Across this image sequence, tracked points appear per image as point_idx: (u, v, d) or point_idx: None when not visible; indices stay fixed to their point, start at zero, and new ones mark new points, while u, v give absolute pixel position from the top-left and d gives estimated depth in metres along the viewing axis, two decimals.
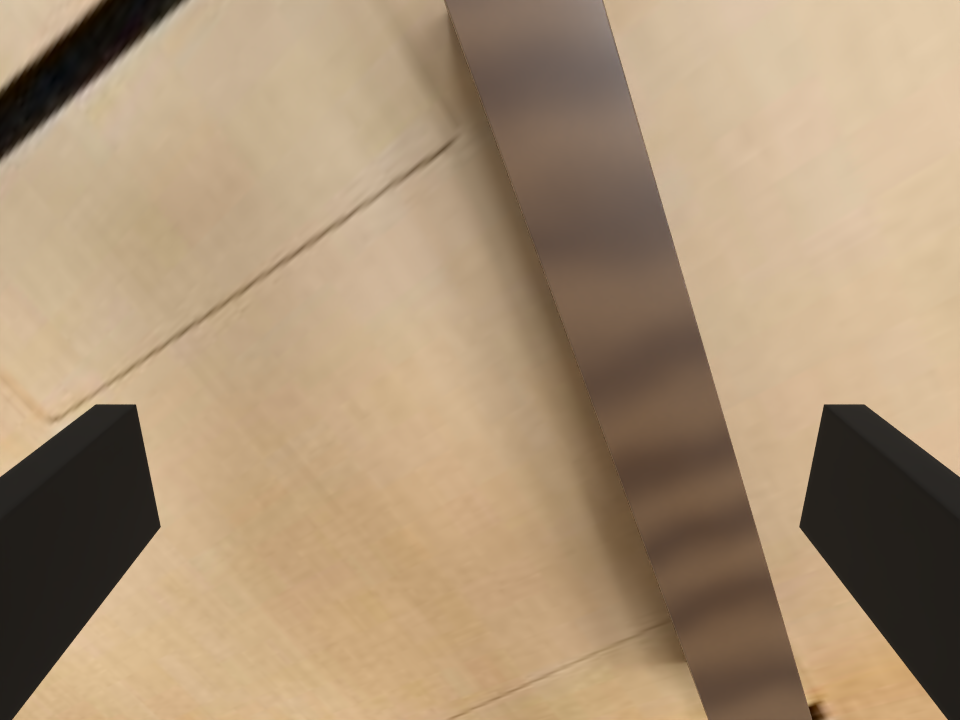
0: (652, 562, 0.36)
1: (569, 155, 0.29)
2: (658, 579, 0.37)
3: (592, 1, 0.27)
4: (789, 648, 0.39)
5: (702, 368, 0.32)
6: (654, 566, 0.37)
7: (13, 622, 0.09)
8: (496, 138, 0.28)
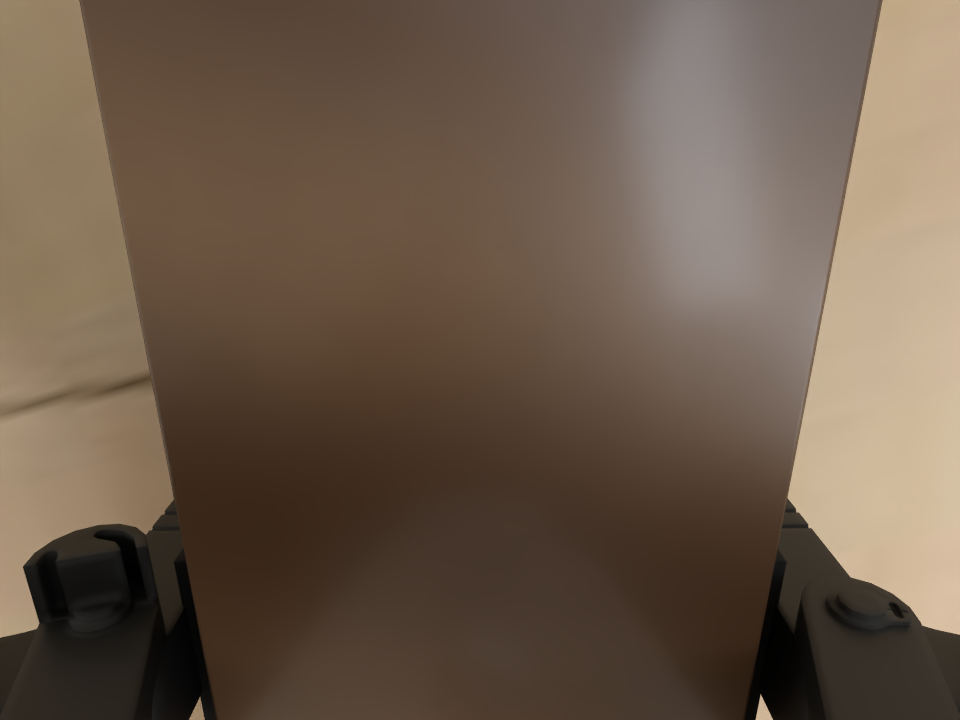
0: None
1: None
2: None
3: (770, 350, 0.06)
4: None
5: None
6: None
7: None
8: (208, 654, 0.07)
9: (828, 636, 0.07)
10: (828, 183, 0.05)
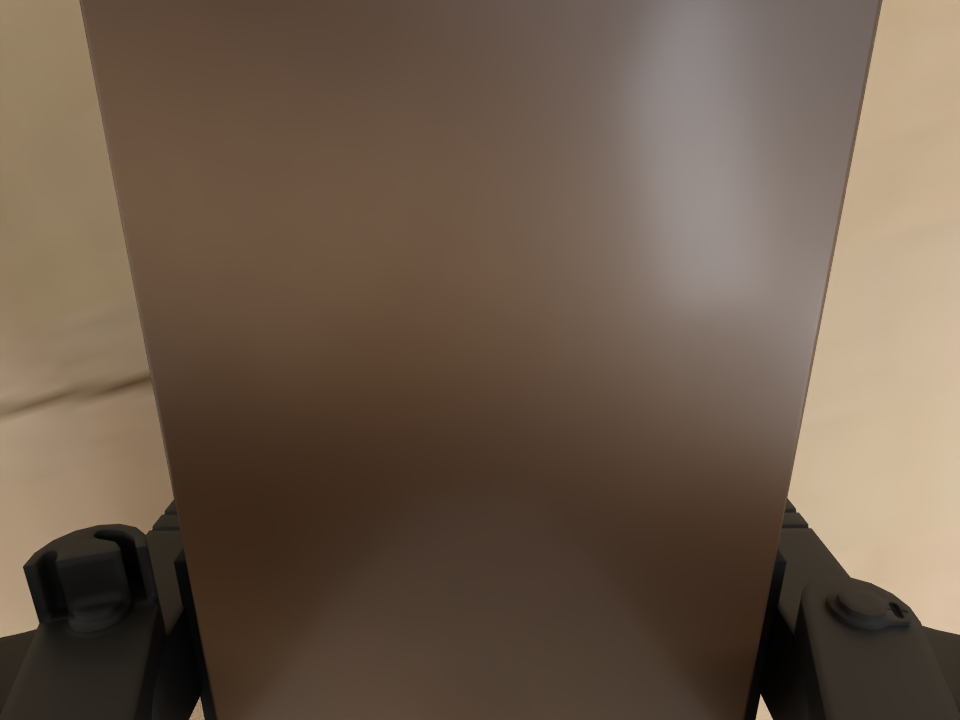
0: None
1: None
2: None
3: (770, 350, 0.06)
4: None
5: None
6: None
7: None
8: (208, 654, 0.07)
9: (828, 636, 0.07)
10: (828, 182, 0.05)
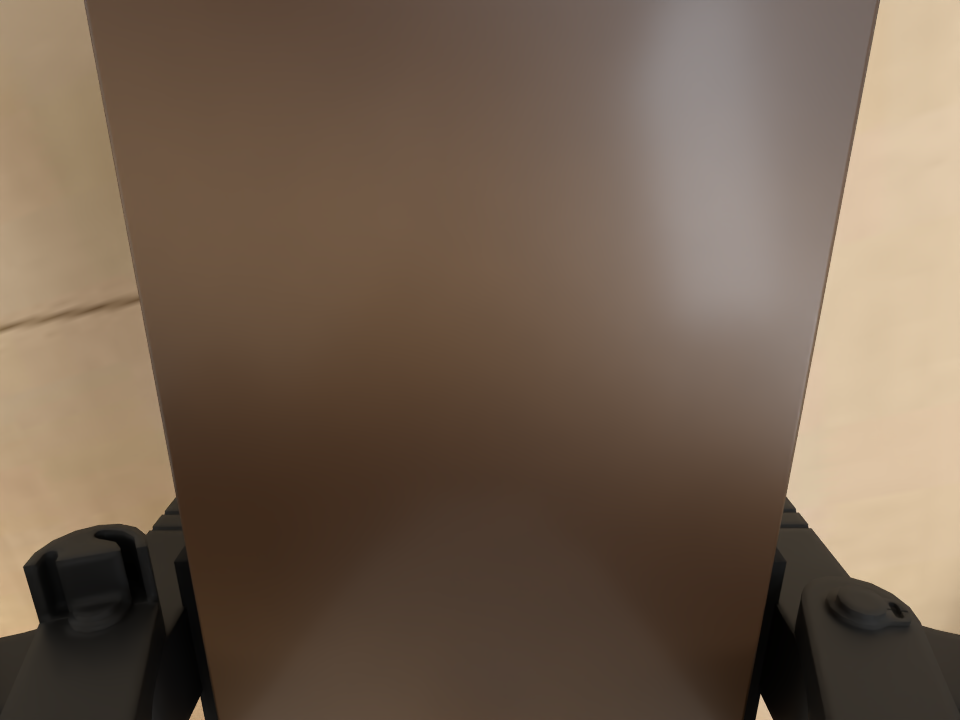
0: None
1: None
2: None
3: (768, 352, 0.06)
4: None
5: None
6: None
7: None
8: (210, 654, 0.07)
9: (828, 636, 0.07)
10: (826, 188, 0.05)
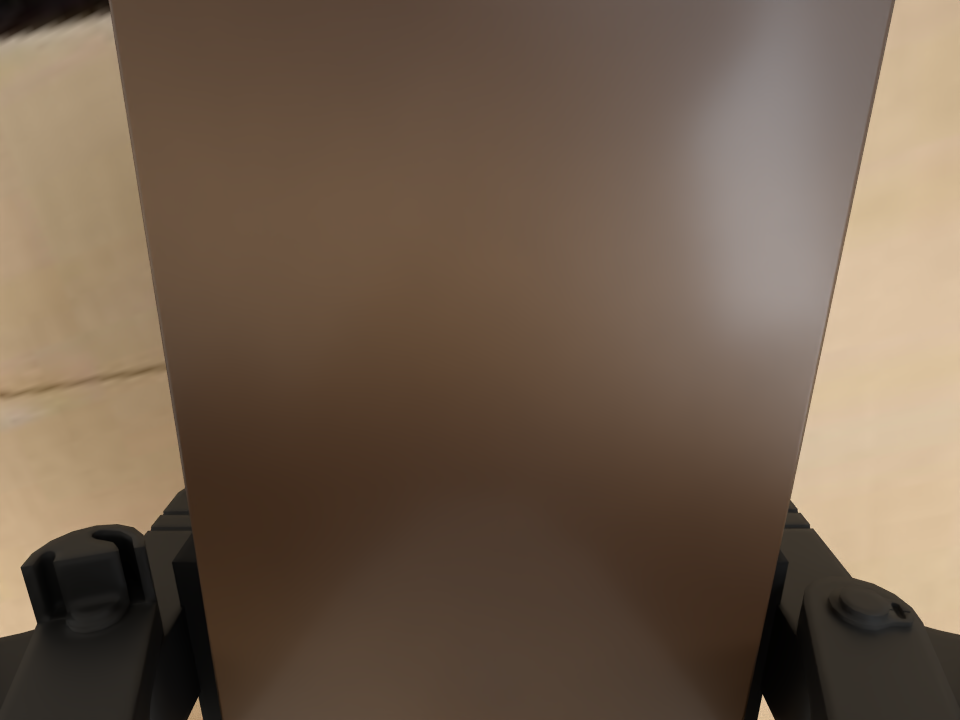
0: None
1: None
2: None
3: (776, 353, 0.06)
4: None
5: None
6: None
7: None
8: (214, 646, 0.07)
9: (830, 636, 0.07)
10: (837, 191, 0.05)
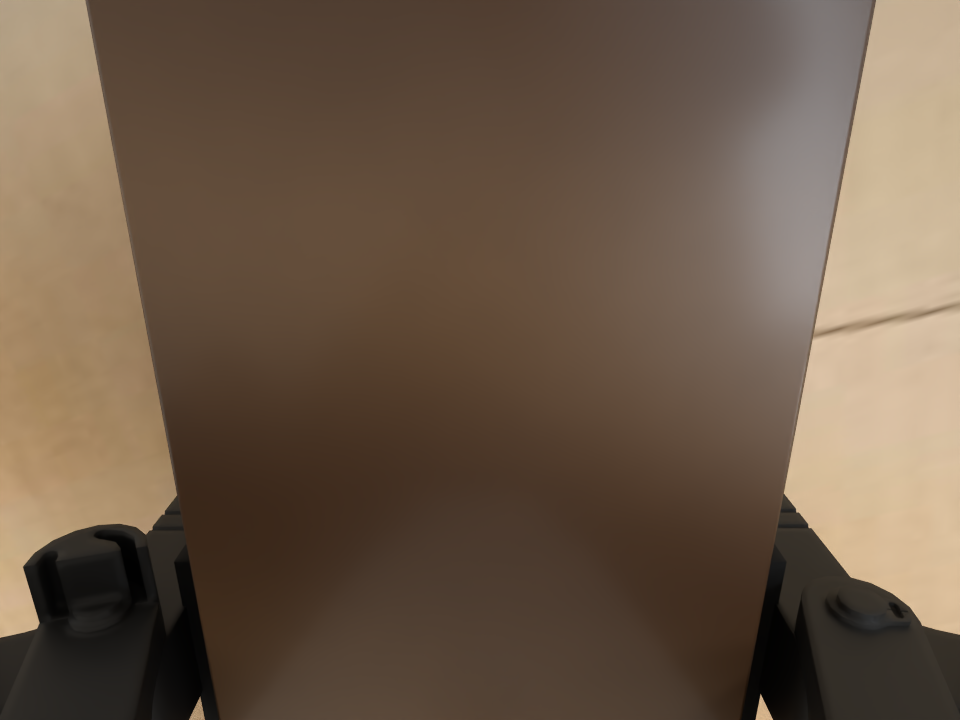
0: None
1: None
2: None
3: (765, 354, 0.06)
4: None
5: None
6: None
7: None
8: (211, 653, 0.07)
9: (828, 636, 0.07)
10: (822, 189, 0.05)
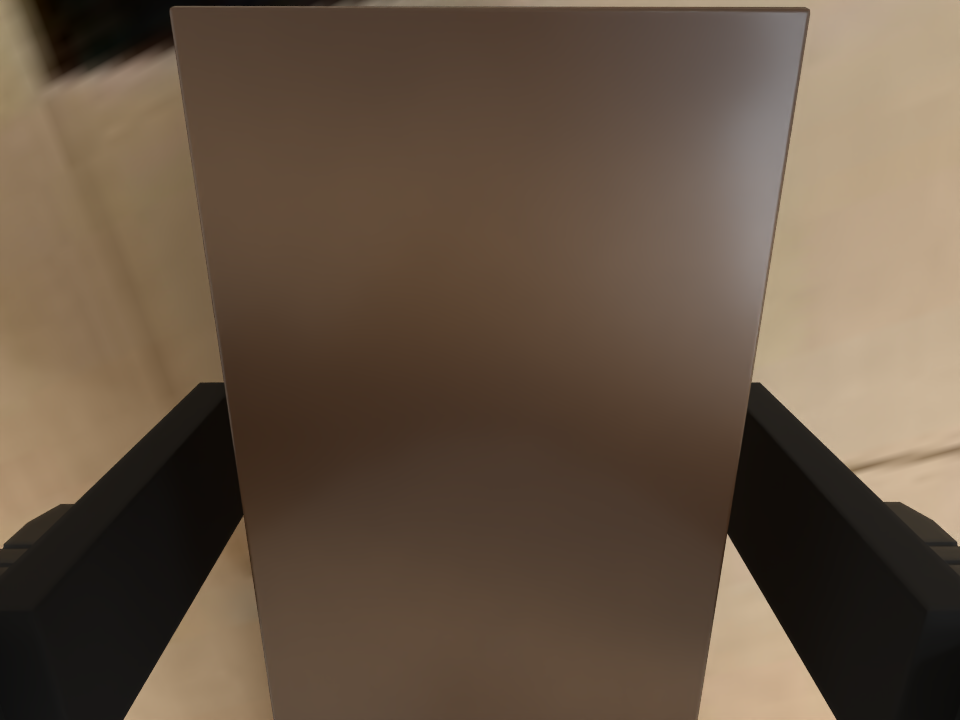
0: None
1: (468, 686, 0.09)
2: None
3: (725, 311, 0.07)
4: None
5: None
6: None
7: (159, 571, 0.10)
8: (256, 573, 0.08)
9: None
10: (769, 173, 0.07)
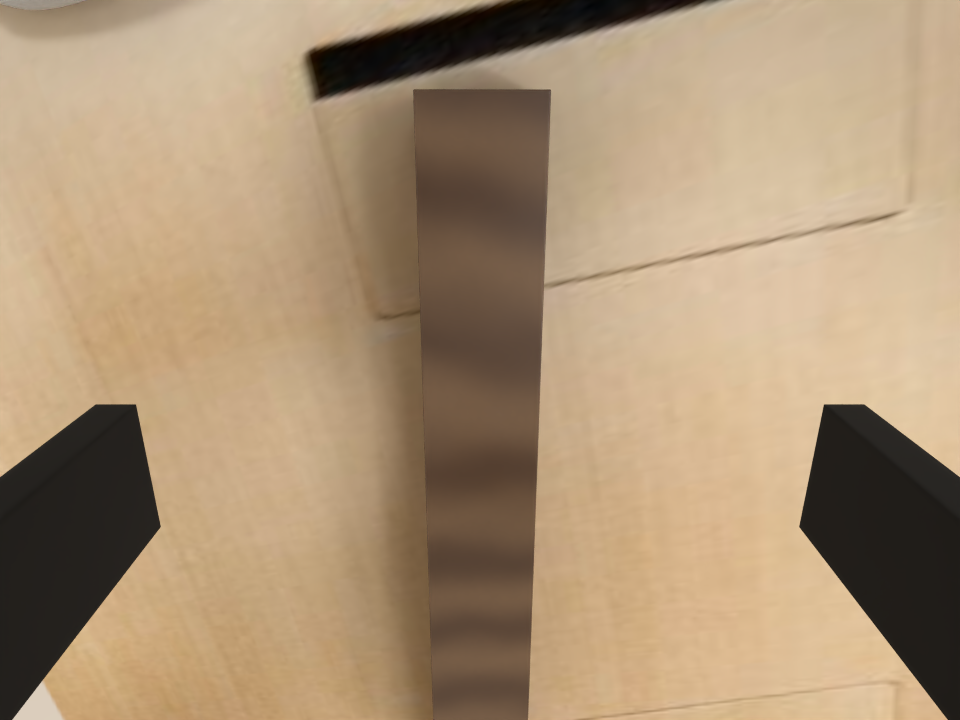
0: (432, 640, 0.39)
1: (476, 276, 0.31)
2: (432, 657, 0.40)
3: (539, 160, 0.29)
4: None
5: (529, 492, 0.36)
6: (432, 644, 0.39)
7: (13, 622, 0.09)
8: (419, 237, 0.31)
9: None
10: (545, 126, 0.29)
